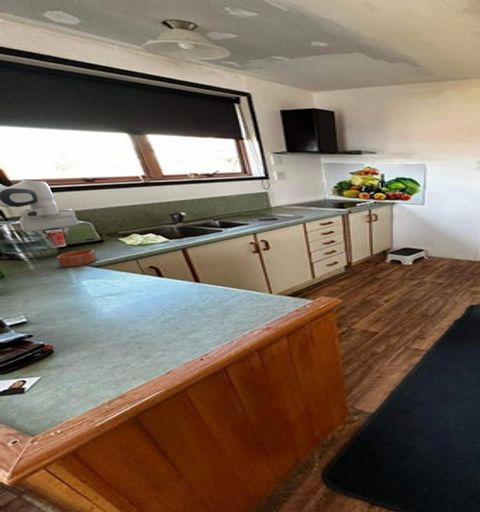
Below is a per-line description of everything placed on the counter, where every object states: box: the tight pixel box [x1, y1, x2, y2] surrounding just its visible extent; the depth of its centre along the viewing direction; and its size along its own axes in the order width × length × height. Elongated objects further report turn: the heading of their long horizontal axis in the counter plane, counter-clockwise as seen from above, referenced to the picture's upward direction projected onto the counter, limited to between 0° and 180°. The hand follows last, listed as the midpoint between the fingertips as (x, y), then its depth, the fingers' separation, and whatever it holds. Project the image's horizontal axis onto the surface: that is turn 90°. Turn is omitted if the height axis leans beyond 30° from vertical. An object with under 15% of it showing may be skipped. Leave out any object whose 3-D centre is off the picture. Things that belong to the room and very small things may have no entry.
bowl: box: [56, 249, 98, 268], centre depth 144 cm, size 13×13×6 cm
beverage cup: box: [44, 228, 67, 248], centre depth 148 cm, size 6×6×14 cm
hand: (56, 236), depth 148 cm, fingers closed on beverage cup, 6 cm apart
